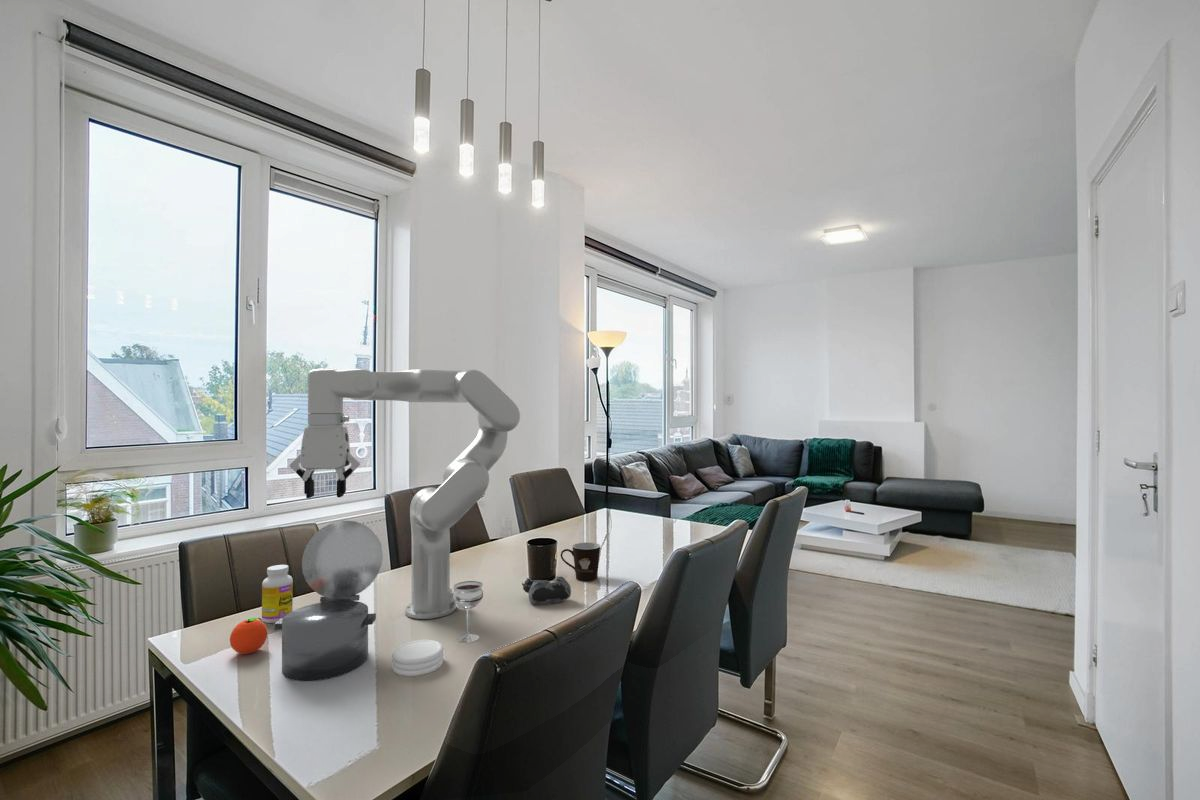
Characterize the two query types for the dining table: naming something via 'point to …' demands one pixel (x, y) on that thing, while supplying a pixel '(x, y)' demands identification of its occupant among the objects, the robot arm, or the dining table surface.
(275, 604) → the supplement bottle
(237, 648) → the clementine
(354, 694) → the dining table surface
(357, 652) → the pot
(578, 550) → the coffee mug
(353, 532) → the lid
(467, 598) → the wineglass
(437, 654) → the white round stack
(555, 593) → the bison figurine
